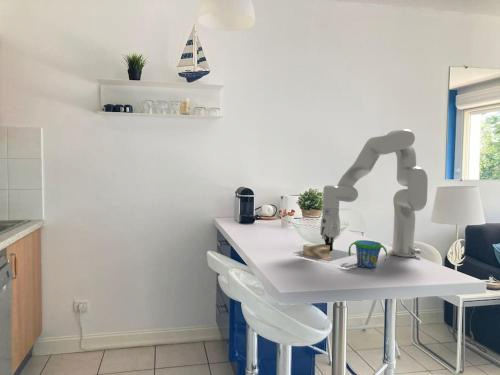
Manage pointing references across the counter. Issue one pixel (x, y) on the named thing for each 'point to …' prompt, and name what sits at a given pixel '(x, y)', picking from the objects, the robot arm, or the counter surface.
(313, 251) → the t block
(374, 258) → the snack cup
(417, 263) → the counter surface
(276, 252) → the counter surface
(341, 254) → the board
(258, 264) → the counter surface
